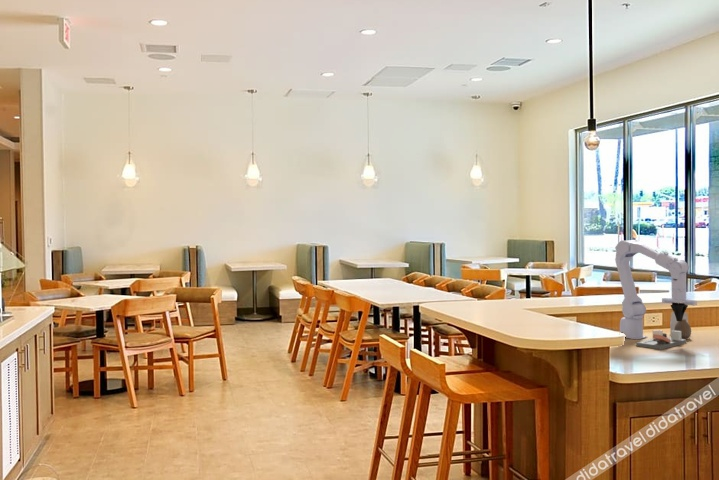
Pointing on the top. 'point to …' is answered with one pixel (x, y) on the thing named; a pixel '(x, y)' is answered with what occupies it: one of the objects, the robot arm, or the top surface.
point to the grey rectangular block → (674, 321)
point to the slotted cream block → (658, 332)
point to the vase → (683, 328)
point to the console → (659, 343)
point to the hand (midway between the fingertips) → (679, 321)
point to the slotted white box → (676, 335)
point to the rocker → (661, 338)
